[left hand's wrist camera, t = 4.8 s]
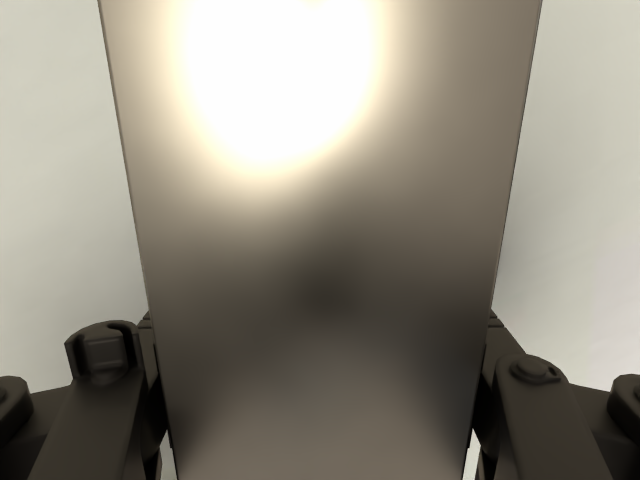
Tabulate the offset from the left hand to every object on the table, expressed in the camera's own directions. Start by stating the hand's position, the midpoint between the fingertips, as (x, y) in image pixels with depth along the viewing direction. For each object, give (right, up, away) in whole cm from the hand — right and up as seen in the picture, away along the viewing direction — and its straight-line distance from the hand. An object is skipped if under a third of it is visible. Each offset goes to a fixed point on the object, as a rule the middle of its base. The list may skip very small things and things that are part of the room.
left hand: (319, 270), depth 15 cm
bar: (0, +8, -2) cm, 9 cm away
